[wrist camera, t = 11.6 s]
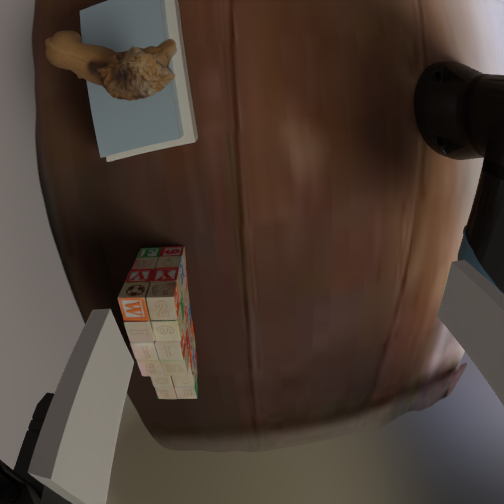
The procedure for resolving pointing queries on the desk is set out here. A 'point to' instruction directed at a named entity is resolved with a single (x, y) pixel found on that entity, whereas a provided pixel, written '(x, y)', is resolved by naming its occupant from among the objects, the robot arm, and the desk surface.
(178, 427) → the desk surface
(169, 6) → the two-tone layered slab
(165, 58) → the lion figurine
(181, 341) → the stack of blocks
